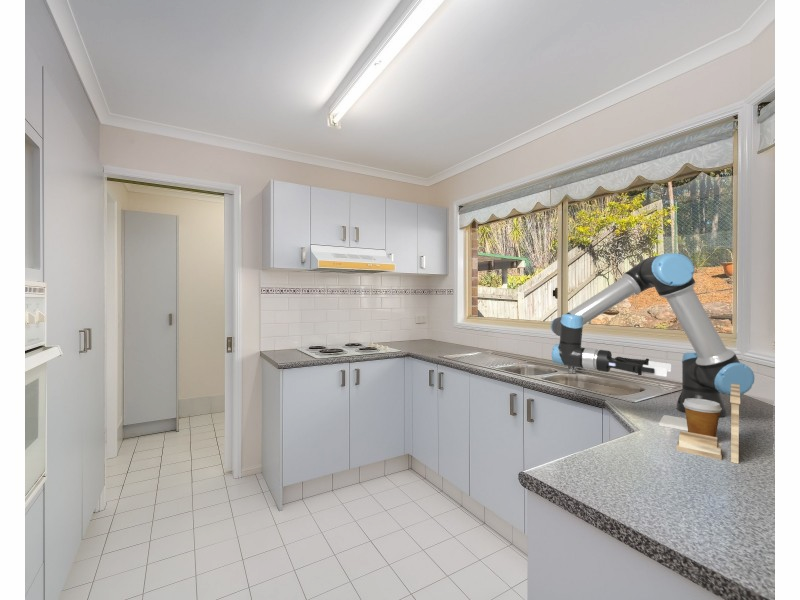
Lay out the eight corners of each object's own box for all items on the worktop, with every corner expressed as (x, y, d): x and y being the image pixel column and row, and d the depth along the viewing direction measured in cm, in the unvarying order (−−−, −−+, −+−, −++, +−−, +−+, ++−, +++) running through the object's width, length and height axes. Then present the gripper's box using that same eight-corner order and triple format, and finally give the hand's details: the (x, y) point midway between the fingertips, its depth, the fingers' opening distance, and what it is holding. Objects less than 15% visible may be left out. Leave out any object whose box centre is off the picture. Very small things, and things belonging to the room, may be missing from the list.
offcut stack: (678, 446, 115) (678, 430, 115) (722, 455, 109) (722, 438, 109) (676, 451, 111) (676, 434, 111) (721, 461, 105) (721, 443, 105)
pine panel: (730, 437, 122) (731, 383, 122) (739, 439, 120) (739, 384, 120) (729, 462, 103) (730, 398, 103) (739, 464, 102) (740, 399, 102)
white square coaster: (664, 417, 142) (664, 414, 142) (705, 424, 134) (705, 421, 134) (659, 425, 133) (659, 422, 133) (703, 433, 125) (703, 430, 125)
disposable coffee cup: (729, 447, 113) (729, 407, 113) (692, 444, 115) (692, 405, 115) (710, 436, 123) (710, 398, 123) (676, 434, 125) (676, 397, 125)
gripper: (604, 366, 148) (671, 376, 135) (588, 374, 129) (664, 387, 115) (606, 347, 148) (673, 355, 135) (589, 352, 129) (666, 362, 115)
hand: (669, 370), depth 125 cm, fingers open, 13 cm apart
